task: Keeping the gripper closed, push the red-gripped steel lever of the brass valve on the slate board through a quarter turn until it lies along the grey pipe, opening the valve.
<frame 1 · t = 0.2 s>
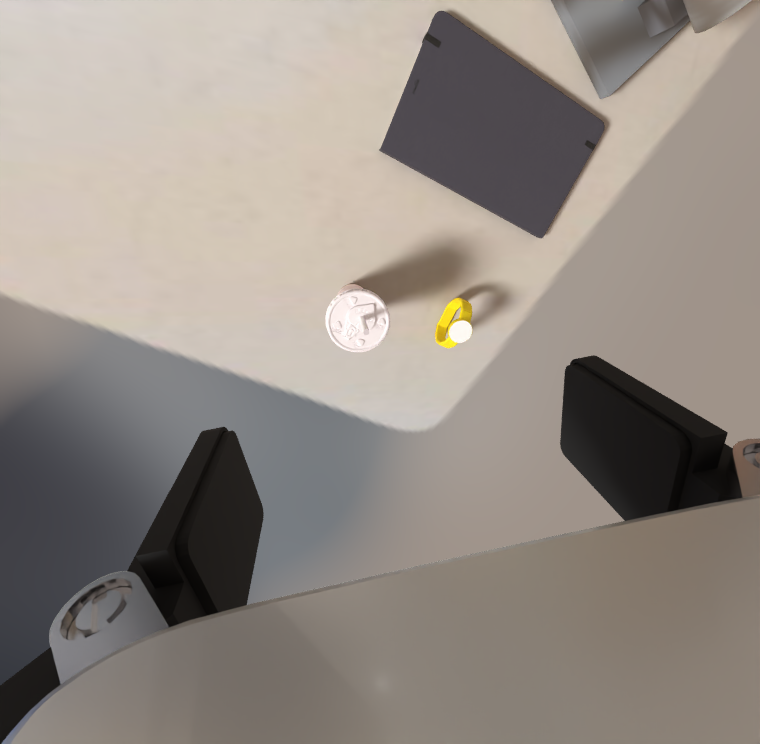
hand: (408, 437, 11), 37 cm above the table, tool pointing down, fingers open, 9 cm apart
smoothie: (352, 299, 47), on the table
watch: (446, 316, 49), on the table
notebook: (490, 139, 42), on the table
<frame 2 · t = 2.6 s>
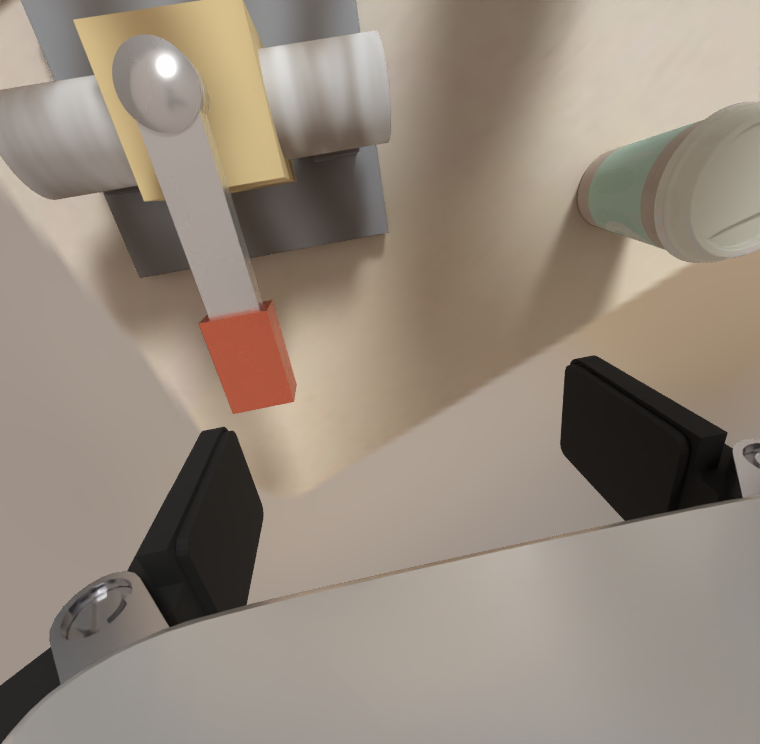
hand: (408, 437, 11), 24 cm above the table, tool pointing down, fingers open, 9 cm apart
coffee cup: (608, 189, 32), on the table
lever: (218, 254, 18), point 13 cm above the table, hinge at 0.0°
valve stand: (236, 136, 27), on the table
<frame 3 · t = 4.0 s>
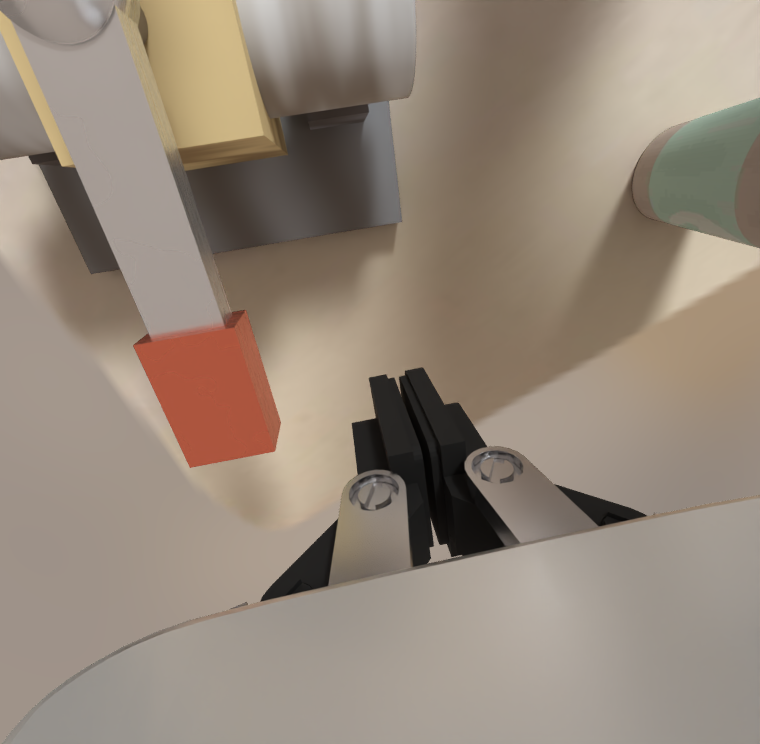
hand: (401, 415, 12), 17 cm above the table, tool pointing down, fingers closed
coffee cup: (670, 174, 26), on the table
lever: (161, 243, 12), point 13 cm above the table, hinge at 0.0°
valve stand: (211, 94, 21), on the table
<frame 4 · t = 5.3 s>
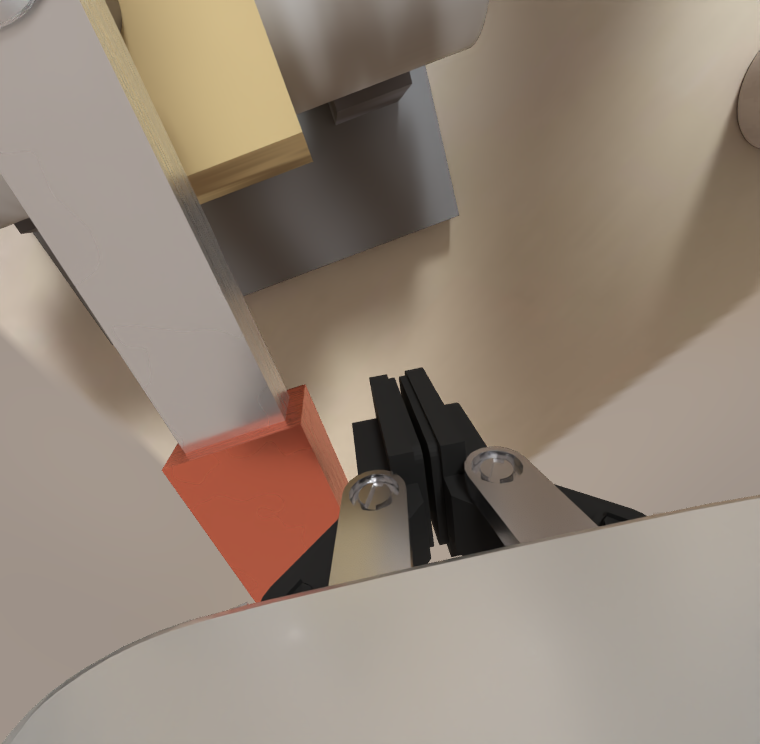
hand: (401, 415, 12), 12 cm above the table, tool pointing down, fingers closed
lever: (182, 318, 8), point 13 cm above the table, hinge at 2.1°, touching gripper
valve stand: (212, 108, 18), on the table
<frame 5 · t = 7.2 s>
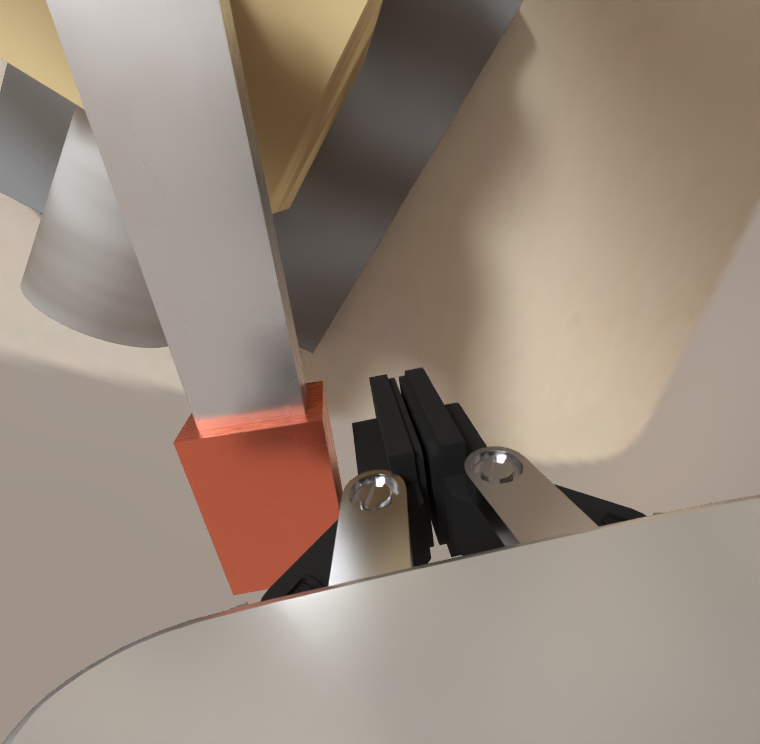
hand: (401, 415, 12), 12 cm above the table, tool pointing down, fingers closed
lever: (226, 296, 8), point 13 cm above the table, hinge at 52.0°, touching gripper
valve stand: (258, 92, 18), on the table
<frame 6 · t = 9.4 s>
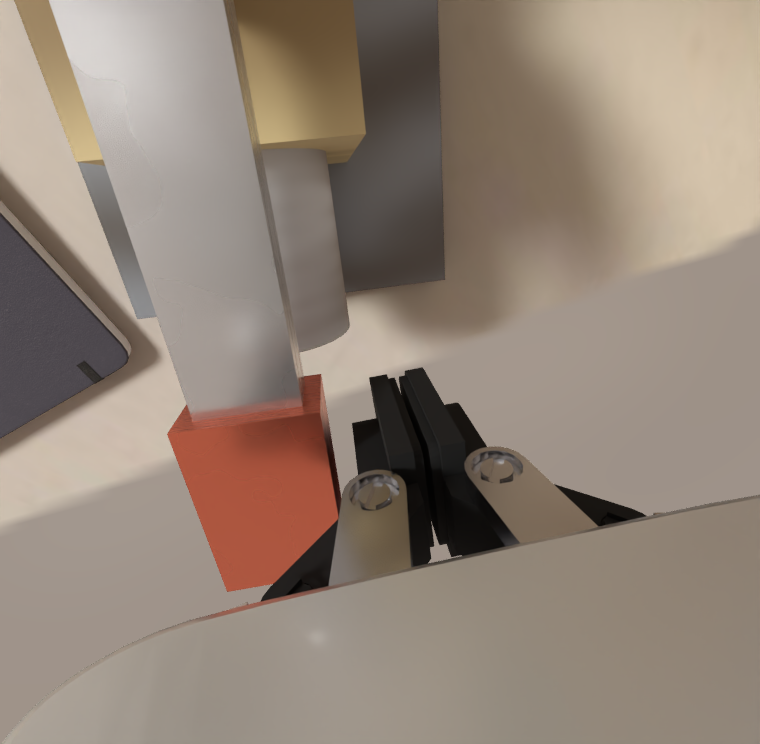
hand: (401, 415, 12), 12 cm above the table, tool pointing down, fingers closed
lever: (222, 284, 8), point 14 cm above the table, hinge at 90.8°, touching gripper
valve stand: (258, 85, 17), on the table
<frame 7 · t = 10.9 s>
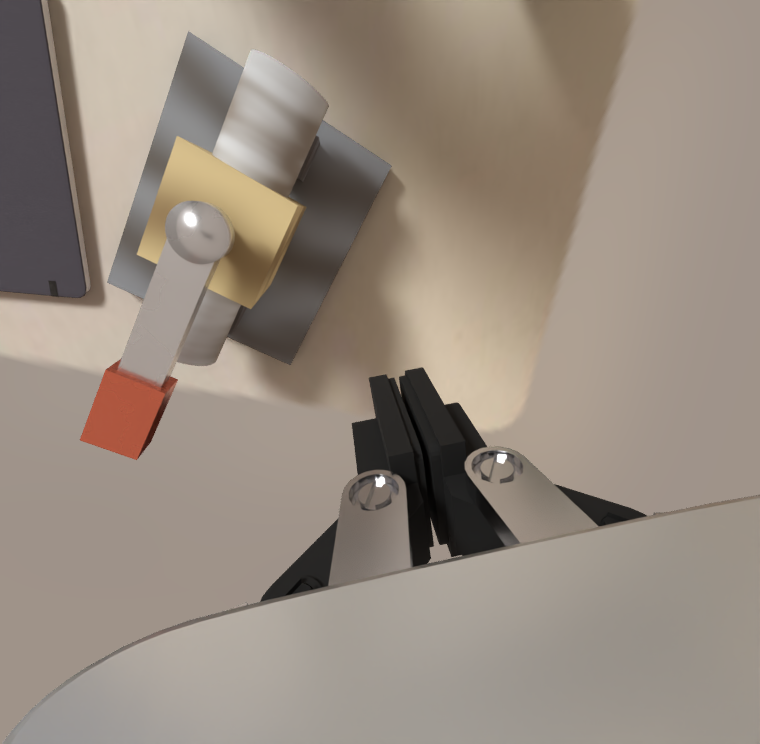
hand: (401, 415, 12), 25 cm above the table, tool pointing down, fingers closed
lever: (160, 335, 22), point 13 cm above the table, hinge at 90.8°
valve stand: (251, 224, 32), on the table
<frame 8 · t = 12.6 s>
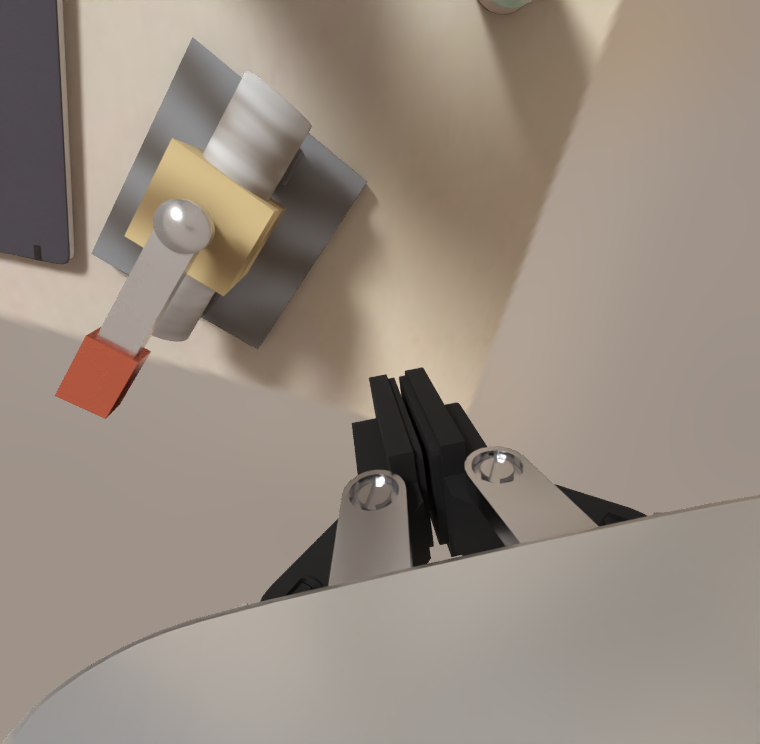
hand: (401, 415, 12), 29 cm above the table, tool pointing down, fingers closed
lever: (138, 310, 25), point 13 cm above the table, hinge at 90.8°
valve stand: (233, 216, 35), on the table
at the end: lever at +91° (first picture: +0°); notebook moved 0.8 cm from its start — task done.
